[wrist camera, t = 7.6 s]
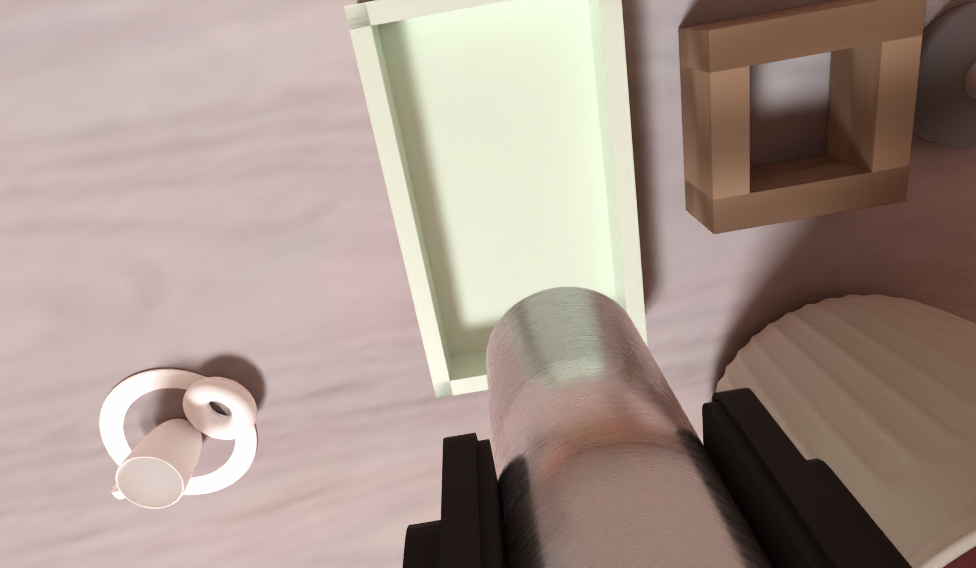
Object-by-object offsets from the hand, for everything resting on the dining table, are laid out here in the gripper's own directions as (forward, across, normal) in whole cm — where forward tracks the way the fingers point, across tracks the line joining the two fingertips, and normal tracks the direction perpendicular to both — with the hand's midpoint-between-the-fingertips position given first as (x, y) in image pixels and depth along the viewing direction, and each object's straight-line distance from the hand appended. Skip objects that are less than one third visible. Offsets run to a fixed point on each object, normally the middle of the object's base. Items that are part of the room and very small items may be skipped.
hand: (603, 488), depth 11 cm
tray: (+20, 0, 0) cm, 20 cm away
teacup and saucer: (+21, +17, +12) cm, 29 cm away
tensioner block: (+20, -16, -1) cm, 25 cm away
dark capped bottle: (+4, 0, 0) cm, 4 cm away
